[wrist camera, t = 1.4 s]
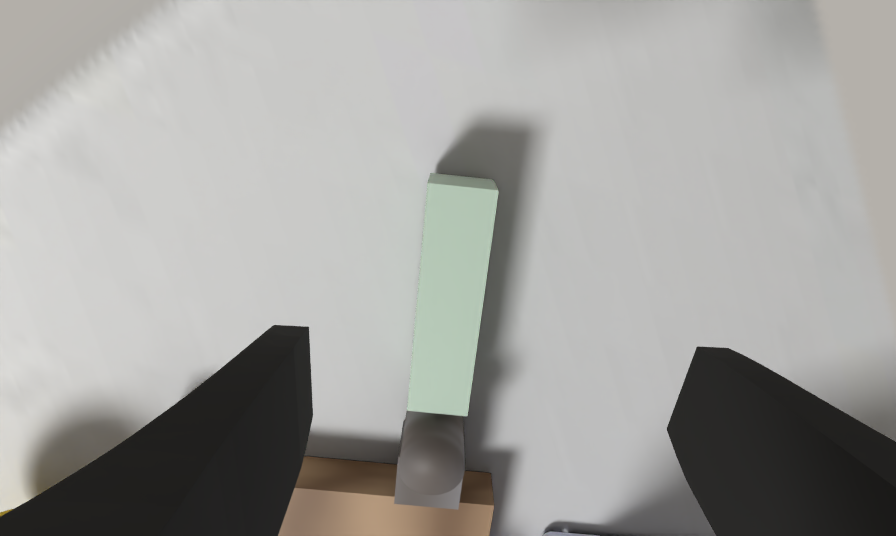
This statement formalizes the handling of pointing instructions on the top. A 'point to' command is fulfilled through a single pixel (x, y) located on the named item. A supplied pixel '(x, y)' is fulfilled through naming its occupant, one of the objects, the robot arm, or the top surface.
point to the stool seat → (396, 489)
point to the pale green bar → (451, 291)
